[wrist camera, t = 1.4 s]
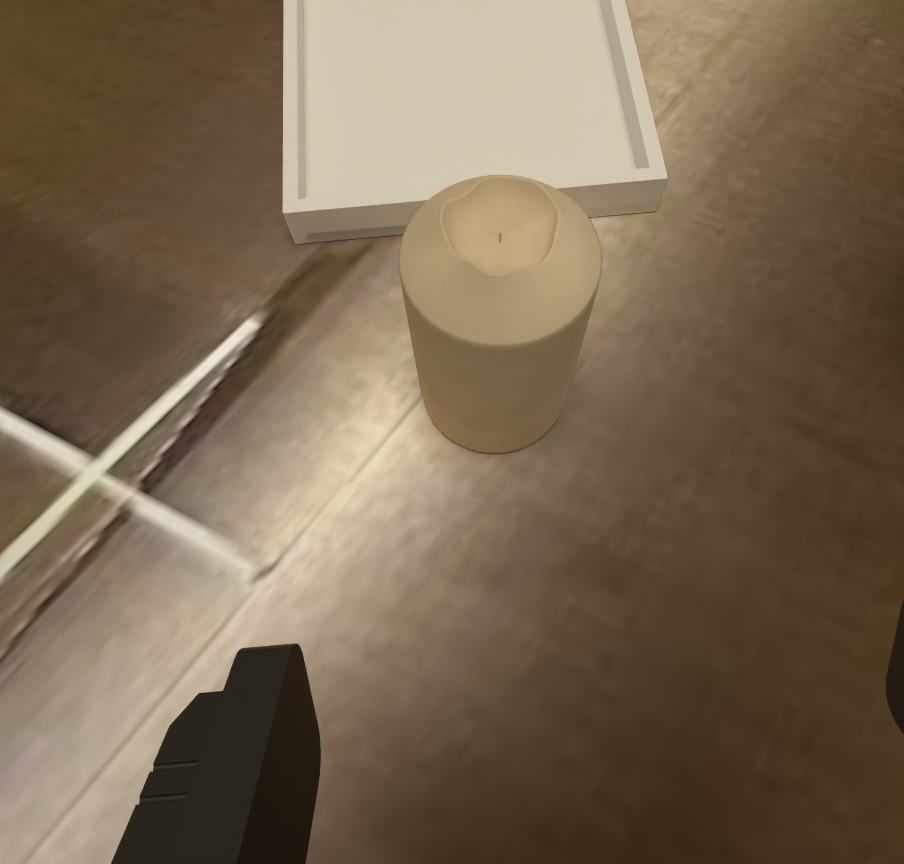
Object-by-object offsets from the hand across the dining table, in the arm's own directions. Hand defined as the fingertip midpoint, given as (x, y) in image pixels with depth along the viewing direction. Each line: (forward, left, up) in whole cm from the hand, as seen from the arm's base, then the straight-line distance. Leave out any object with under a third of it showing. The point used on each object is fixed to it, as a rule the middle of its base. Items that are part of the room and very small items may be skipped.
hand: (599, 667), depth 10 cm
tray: (0, +28, -15) cm, 31 cm away
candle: (0, +11, -15) cm, 18 cm away
